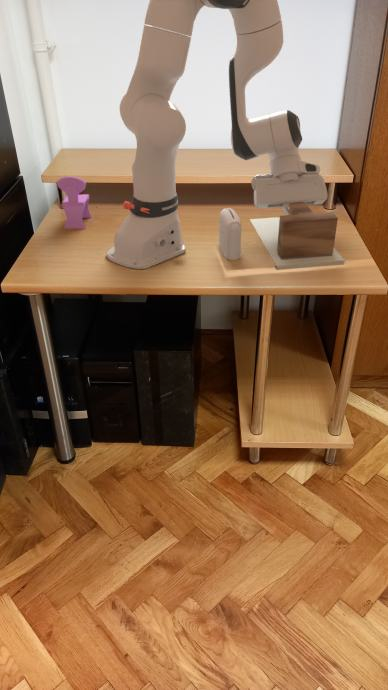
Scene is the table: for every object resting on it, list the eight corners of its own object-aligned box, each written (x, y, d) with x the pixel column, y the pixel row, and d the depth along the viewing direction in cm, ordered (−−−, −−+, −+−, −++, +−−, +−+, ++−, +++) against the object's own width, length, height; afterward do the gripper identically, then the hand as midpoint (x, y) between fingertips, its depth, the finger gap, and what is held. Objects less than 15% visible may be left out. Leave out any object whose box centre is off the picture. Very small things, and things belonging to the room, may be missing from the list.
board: (249, 223, 171) (249, 219, 171) (308, 218, 173) (308, 215, 173) (276, 270, 147) (276, 265, 146) (343, 264, 149) (344, 260, 149)
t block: (269, 238, 160) (271, 204, 154) (317, 234, 161) (321, 200, 156) (281, 258, 150) (284, 222, 144) (332, 253, 152) (337, 218, 146)
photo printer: (217, 247, 158) (218, 204, 151) (232, 246, 159) (234, 203, 152) (226, 264, 150) (227, 220, 143) (242, 263, 150) (244, 218, 143)
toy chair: (95, 217, 176) (89, 168, 168) (88, 228, 169) (82, 178, 160) (68, 216, 177) (61, 167, 168) (61, 228, 170) (53, 178, 161)
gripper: (252, 170, 156) (259, 218, 154) (325, 165, 159) (332, 213, 156) (248, 180, 162) (254, 227, 160) (317, 176, 165) (325, 221, 163)
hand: (293, 220), depth 158 cm, fingers closed, pressing on t block
